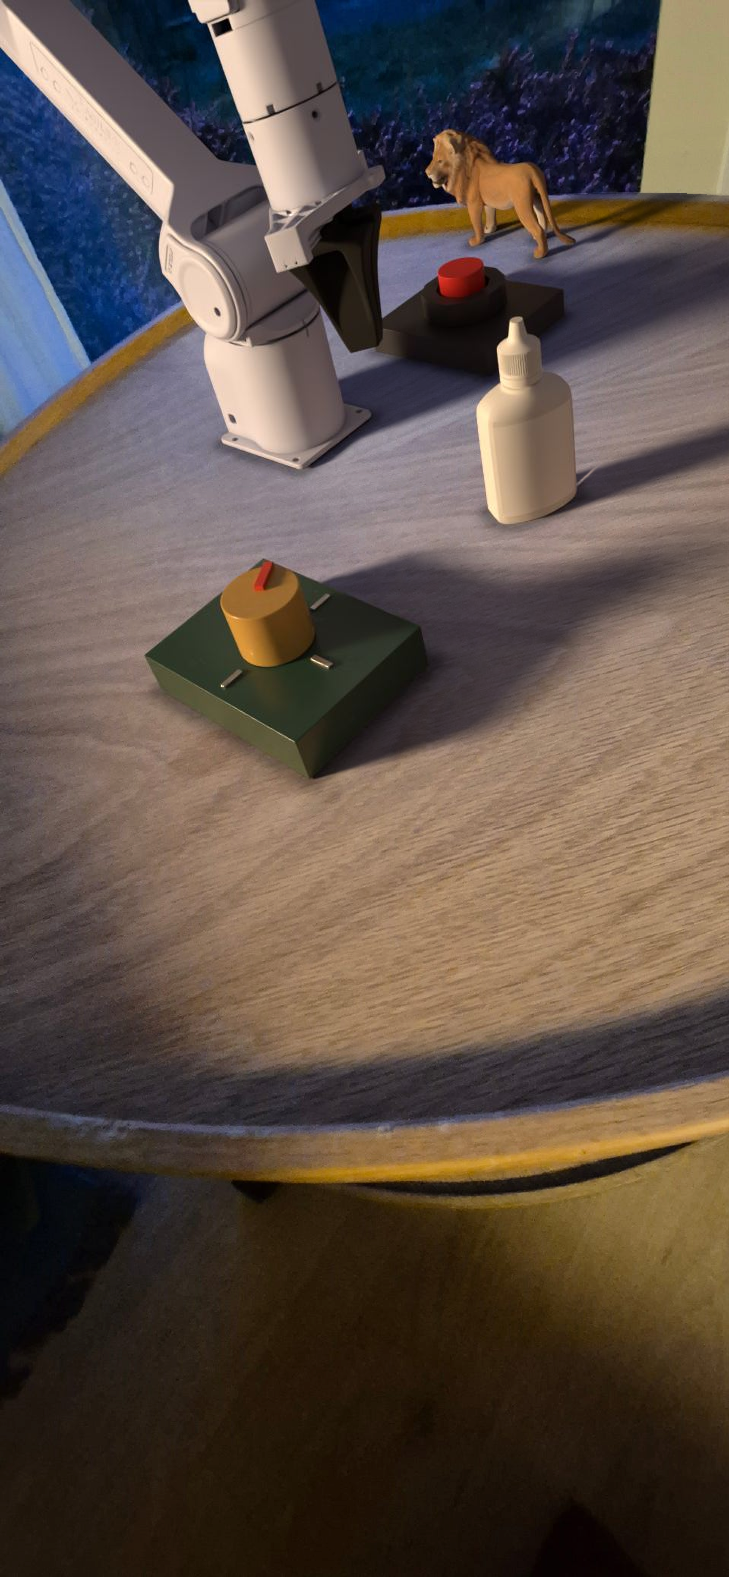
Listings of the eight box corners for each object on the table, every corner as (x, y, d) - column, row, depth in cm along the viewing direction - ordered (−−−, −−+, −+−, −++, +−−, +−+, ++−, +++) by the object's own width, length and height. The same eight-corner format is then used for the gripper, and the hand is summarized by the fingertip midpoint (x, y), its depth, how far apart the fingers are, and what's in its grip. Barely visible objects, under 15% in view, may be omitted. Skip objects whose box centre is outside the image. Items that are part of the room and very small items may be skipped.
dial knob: (304, 667, 51) (285, 613, 48) (230, 667, 52) (207, 615, 50) (323, 613, 54) (306, 559, 51) (252, 614, 55) (232, 562, 52)
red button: (431, 297, 75) (428, 275, 74) (459, 277, 77) (456, 254, 75) (466, 304, 73) (463, 280, 72) (495, 282, 75) (492, 259, 73)
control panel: (162, 691, 57) (142, 653, 55) (276, 595, 61) (262, 555, 58) (310, 780, 50) (294, 740, 48) (429, 665, 54) (420, 623, 51)
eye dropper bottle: (575, 522, 59) (566, 332, 50) (485, 528, 61) (461, 345, 52) (578, 481, 62) (569, 294, 53) (492, 488, 63) (470, 308, 54)
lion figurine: (428, 249, 90) (412, 141, 84) (461, 224, 92) (448, 118, 86) (560, 263, 82) (554, 146, 76) (592, 236, 84) (589, 119, 78)
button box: (376, 352, 79) (366, 304, 76) (450, 297, 83) (444, 248, 80) (489, 378, 73) (483, 326, 70) (565, 316, 76) (562, 265, 73)
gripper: (318, 112, 46) (399, 381, 55) (385, 48, 55) (445, 287, 64) (196, 157, 49) (292, 406, 58) (280, 89, 58) (351, 313, 67)
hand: (366, 345), depth 61 cm, fingers closed
